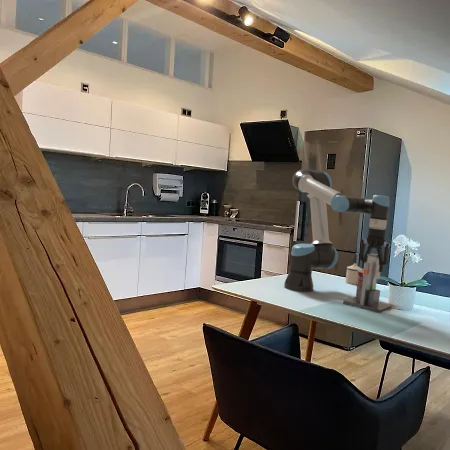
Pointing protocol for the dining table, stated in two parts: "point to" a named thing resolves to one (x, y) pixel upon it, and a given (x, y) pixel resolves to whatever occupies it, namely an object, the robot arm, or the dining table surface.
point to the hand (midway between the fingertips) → (371, 277)
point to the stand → (367, 297)
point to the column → (372, 271)
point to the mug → (359, 281)
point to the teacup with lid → (352, 274)
